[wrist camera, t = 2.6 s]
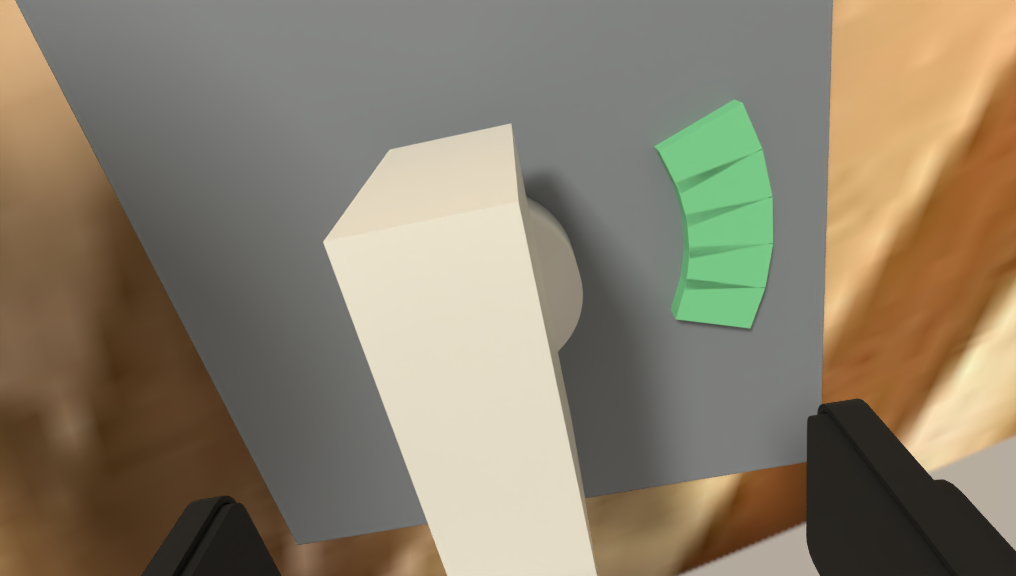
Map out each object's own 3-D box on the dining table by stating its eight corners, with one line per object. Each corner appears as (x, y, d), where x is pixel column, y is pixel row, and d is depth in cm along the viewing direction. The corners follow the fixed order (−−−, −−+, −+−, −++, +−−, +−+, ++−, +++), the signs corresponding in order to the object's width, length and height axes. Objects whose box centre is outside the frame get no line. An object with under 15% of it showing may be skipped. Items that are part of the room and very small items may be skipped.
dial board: (47, -18, 16) (-14, -19, 14) (807, -208, 14) (853, -239, 12) (308, 514, 25) (292, 557, 23) (800, 432, 23) (827, 471, 21)
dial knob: (366, 140, 16) (260, 254, 9) (547, 100, 16) (585, 188, 9) (478, 499, 22) (467, 742, 15) (612, 477, 22) (668, 715, 14)
